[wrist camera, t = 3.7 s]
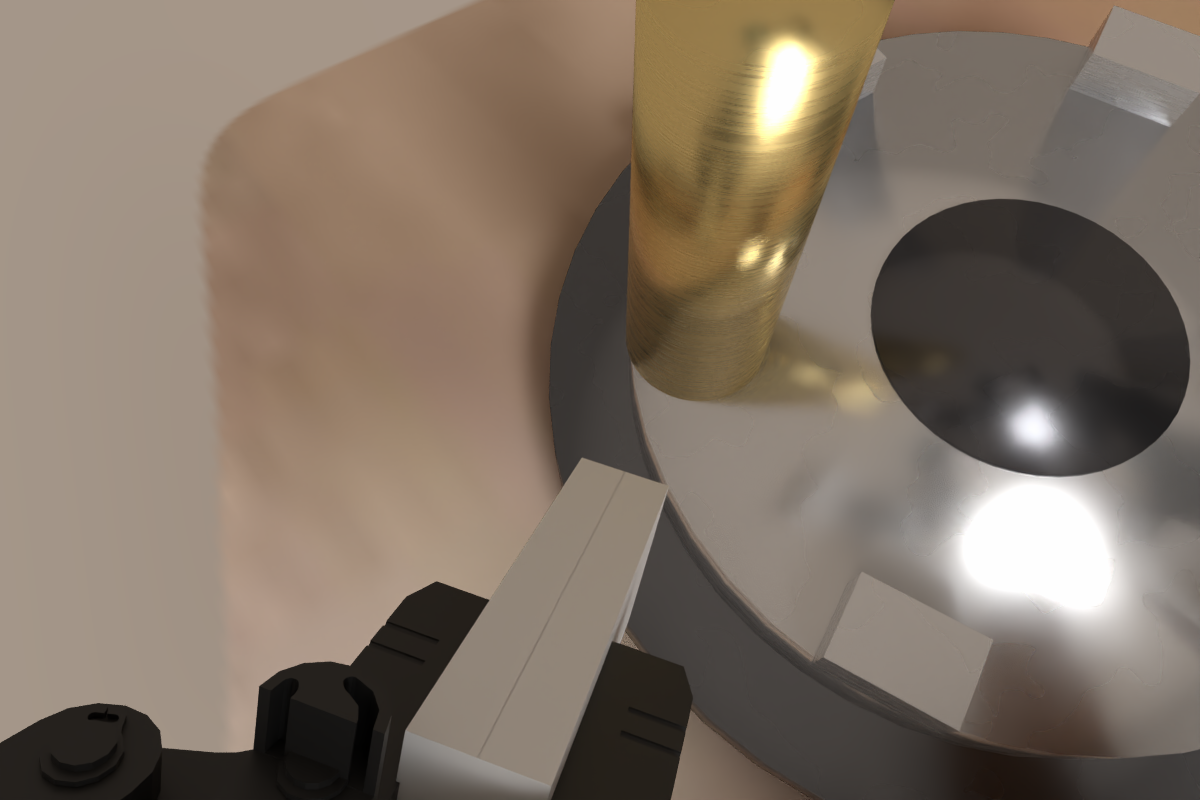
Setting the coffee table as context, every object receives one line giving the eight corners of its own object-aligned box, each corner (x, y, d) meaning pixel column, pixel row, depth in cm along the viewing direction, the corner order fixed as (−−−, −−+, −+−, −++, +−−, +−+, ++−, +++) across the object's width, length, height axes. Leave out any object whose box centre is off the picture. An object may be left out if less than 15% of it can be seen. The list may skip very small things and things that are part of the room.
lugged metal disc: (1249, 78, 25) (1744, -461, 14) (1511, 752, 18) (2896, 724, 7) (616, 91, 25) (620, -434, 14) (635, 765, 18) (669, 757, 7)
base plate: (1406, 181, 26) (1464, 138, 24) (1412, 1027, 18) (1500, 1055, 16) (690, 5, 29) (695, -44, 27) (420, 658, 21) (402, 648, 19)
